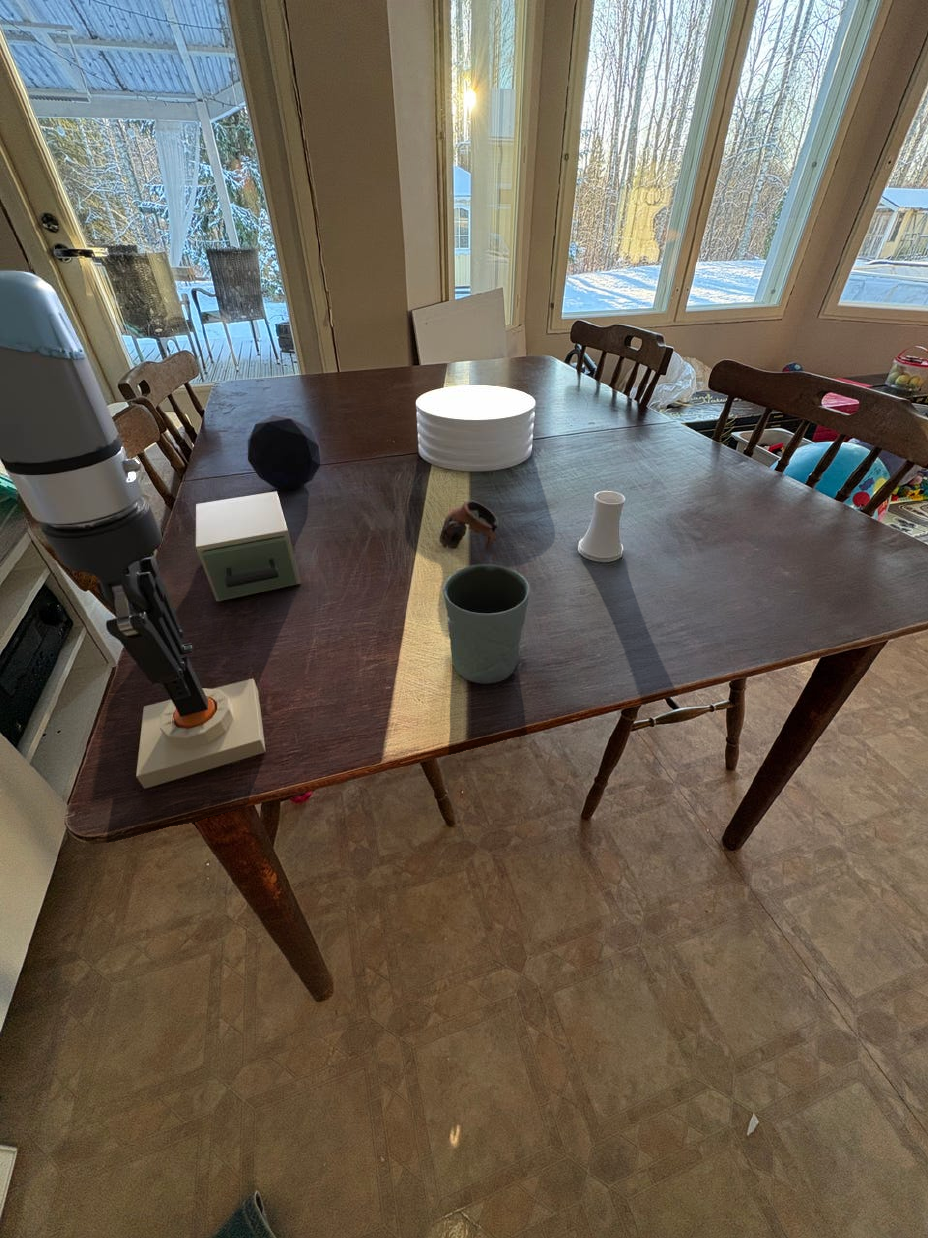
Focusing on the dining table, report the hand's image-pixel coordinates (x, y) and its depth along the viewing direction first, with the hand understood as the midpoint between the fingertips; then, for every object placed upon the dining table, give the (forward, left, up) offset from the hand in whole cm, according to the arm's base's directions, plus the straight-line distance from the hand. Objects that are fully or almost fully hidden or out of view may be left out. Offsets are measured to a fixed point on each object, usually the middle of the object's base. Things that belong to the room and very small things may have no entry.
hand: (194, 708), depth 55 cm
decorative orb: (+18, +66, -5) cm, 69 cm away
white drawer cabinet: (+8, +34, -5) cm, 35 cm away
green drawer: (+8, +30, -4) cm, 31 cm away
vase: (+64, +17, -5) cm, 66 cm away
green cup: (+34, -1, -5) cm, 34 cm away
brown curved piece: (+43, +28, -5) cm, 51 cm away
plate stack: (+63, +70, -5) cm, 94 cm away
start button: (0, 0, -2) cm, 2 cm away
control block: (0, 0, -5) cm, 5 cm away
